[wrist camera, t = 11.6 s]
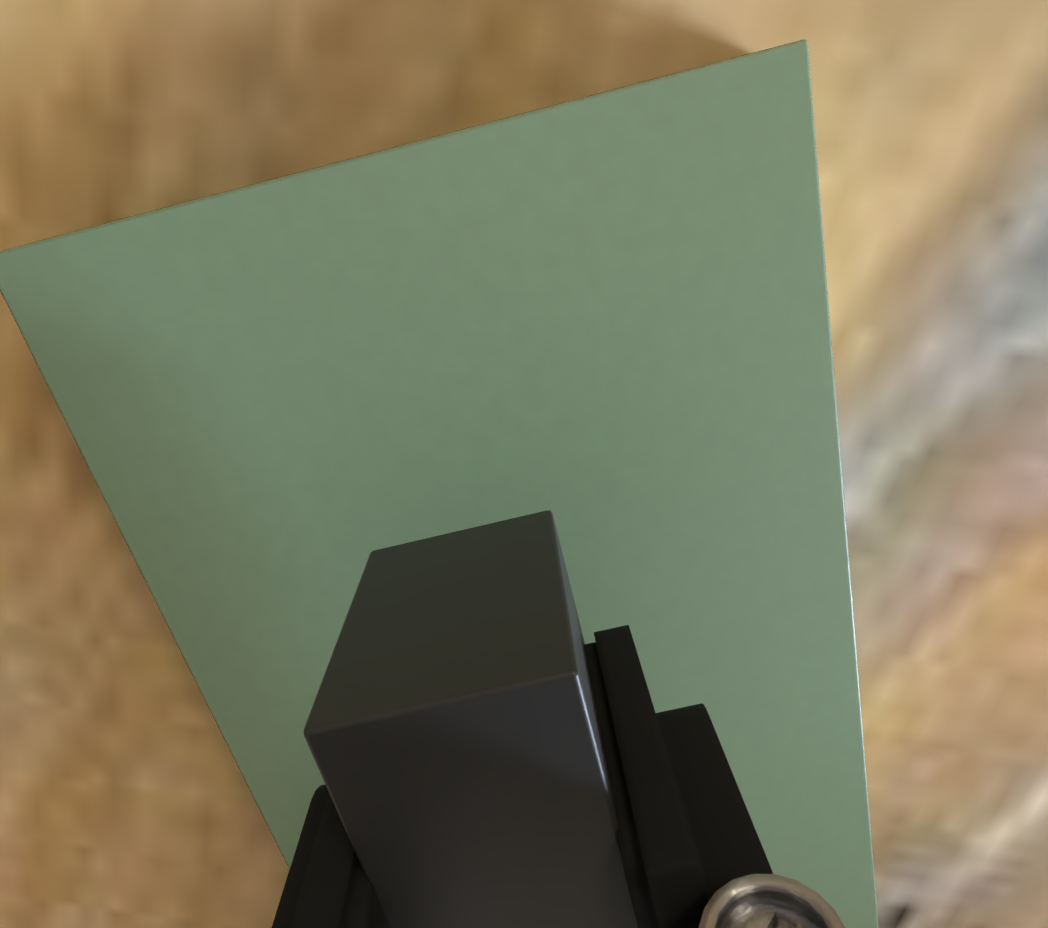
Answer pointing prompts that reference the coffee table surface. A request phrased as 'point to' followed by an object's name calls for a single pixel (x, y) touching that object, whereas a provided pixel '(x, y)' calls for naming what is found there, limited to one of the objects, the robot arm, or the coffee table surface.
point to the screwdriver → (472, 737)
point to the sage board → (496, 417)
